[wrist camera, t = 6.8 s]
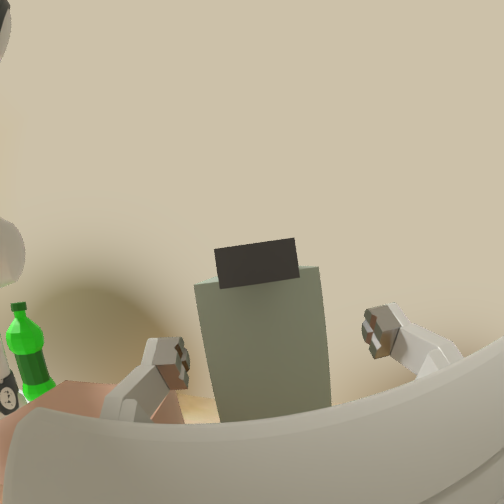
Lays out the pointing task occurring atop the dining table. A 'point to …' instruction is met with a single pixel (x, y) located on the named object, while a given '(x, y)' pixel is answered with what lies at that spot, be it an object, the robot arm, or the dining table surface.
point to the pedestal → (266, 346)
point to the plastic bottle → (28, 353)
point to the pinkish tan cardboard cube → (77, 410)
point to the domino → (256, 263)
